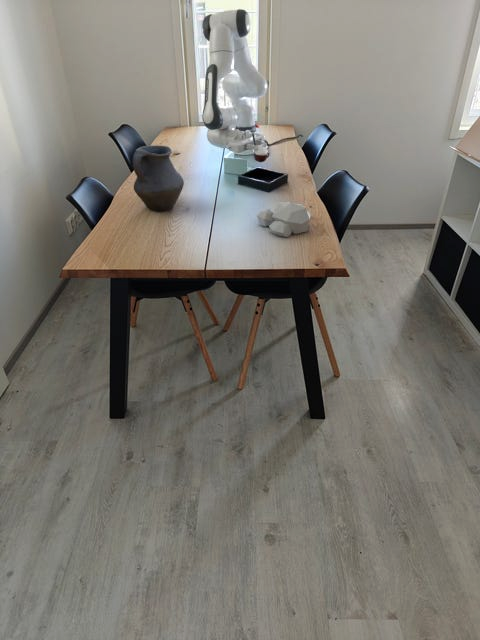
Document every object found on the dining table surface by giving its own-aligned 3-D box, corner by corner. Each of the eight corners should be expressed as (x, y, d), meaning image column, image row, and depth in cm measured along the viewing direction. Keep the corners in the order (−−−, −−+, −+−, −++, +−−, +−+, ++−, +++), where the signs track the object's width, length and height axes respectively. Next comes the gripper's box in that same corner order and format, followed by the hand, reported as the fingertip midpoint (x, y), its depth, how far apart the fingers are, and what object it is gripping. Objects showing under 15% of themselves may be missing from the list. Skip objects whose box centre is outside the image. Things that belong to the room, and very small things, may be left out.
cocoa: (268, 159, 203) (272, 132, 196) (269, 164, 198) (273, 137, 191) (247, 157, 202) (251, 130, 195) (248, 162, 197) (252, 134, 190)
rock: (283, 242, 157) (284, 217, 151) (249, 224, 170) (249, 200, 164) (319, 229, 166) (322, 205, 160) (285, 212, 179) (286, 189, 173)
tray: (257, 175, 215) (257, 166, 213) (287, 182, 207) (288, 173, 204) (237, 184, 206) (237, 175, 203) (268, 192, 197) (269, 183, 194)
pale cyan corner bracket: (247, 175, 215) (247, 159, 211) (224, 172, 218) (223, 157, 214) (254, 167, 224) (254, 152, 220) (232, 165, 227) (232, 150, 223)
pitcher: (195, 203, 187) (191, 142, 172) (163, 222, 172) (155, 157, 157) (157, 194, 196) (150, 135, 181) (124, 211, 181) (113, 149, 166)
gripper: (222, 138, 195) (247, 143, 188) (249, 129, 208) (274, 134, 201) (222, 153, 199) (247, 158, 192) (249, 143, 212) (273, 148, 205)
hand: (261, 146), depth 197 cm, fingers closed on cocoa, 5 cm apart
